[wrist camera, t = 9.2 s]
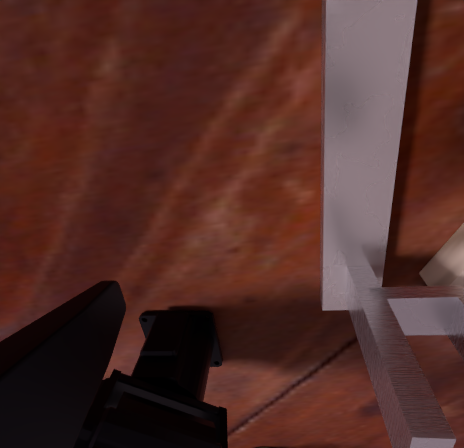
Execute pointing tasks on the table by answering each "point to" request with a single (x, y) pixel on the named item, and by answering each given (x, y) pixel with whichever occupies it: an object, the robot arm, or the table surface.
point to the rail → (447, 263)
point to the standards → (376, 213)
